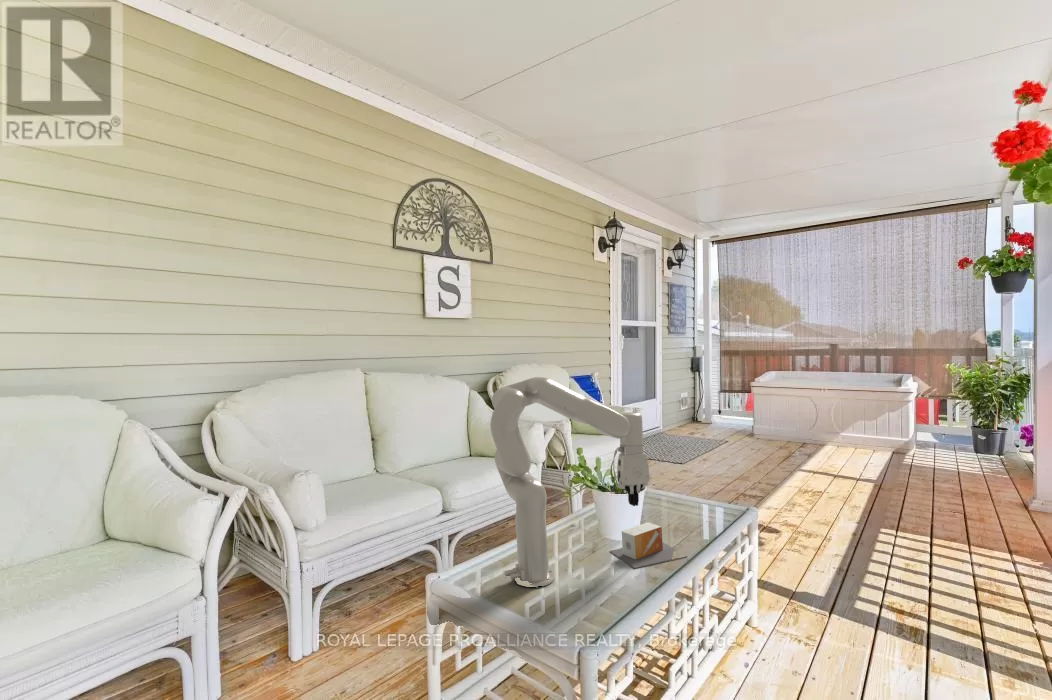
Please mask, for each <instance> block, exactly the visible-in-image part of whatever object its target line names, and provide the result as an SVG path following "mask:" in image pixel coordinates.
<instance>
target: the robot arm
mask: <svg viewBox="0 0 1052 700" xmlns="http://www.w3.org/2000/svg"><path fill="white" fill-rule="evenodd" d="M536 403H537V404H539V405H542V406H544V407H546V408H548V409H550V410H551V411H554V412H556V413H558V414H559V415H561V416H564V417H565V418H567V419H569V420H572V421H575V422H577V423H581V424H584V425H587V426H591V427H592V428H595V430H596V431H597V432H598V433H599V434H601V435H604V436H606V437H611V438H614V439H619V441H620V442H619V443H620V444H619V447H616V450H617V452H620V453H618V458H617V465H616V467H617V468H616V479H617V480H616V481H617V484H618V485H617V488H618V489H620V490H625V491H626V492H627V498H628V499H627V500H628V504H629V505H630V506H632V507H636V506H639V498H640V497H639V494H640V492H641V490H642V489H643V488H645V487H647V486H648V485H649V482H650V468H649V461H648V457H647V454H646V453H645V452H644V441H643V440H644V437H643V436H644V434H643V433H644V432H643V431H644V429H643V416H642V414H641V413H640V412H636V411H634V412H633V411H632V412H631V411H629V412H628V411H627V412H621V413H619V412H618V411H615V410H613V409H611V408H610V407H607V406H605V405H603V404H600V403H599V402H597V401H595V400H592V399H591V398H588V397H586V396H584V395H582V394H580V393H578V392H577V391H574V390H572V389H570V388H568V387H566V386H564V385H563V384H562V383H561V384H560V383H559V382H557V381H555V380H552V379H551V378H548V377H541V376H534V377H531V378H527V379H524V380H522V381H519V382H516V383H511V384H509V385H506V386H502V387H499V388H498V389H497V390H496V391H494V393H493V394H492V397H491V404H492V407H493V412H492V414H491V418H490V433H491V437H492V439H493V442H494V445H495V447H496V449H495V452H494V462H495V466H496V469H497V471H498V474H499V476H500V479H501V481H502V483H503V486H504V488H505V490H506V492H507V495H508V496H509V497H510V499H512V500H513V501H514V502H515V533H516V551H517V552H516V553H517V563H516V564H515V567H513V568H512V569H507V570H503V572H502V573H504V574H503V576H504V575H505V576H510V577H509V579H510V580H514V578H517V577H518V578H520V580H521V581H528V582H529V583H532V584H530V585H533V586H542V587H545V586H548V585H550V584H551V583H552V582H554V580H555V573H554V571H553V570H552V569H550V565H549V551H548V549H549V548H548V535H547V534H548V533H547V531H548V530H547V521H546V519H547V517H546V516H547V515H546V514H547V513H546V510H547V498H548V497H547V491H546V488H545V486H544V484H543V483H542V482H541V481H540V480H539V479H538V478H536V477H534V476H533V475H531V472H530V469H531V466H532V460H531V456H530V454H529V451H528V450H527V447H526V444H525V441H524V440H523V437H522V434H521V431H520V428H519V419H520V417H521V415H522V413H523V412H524V410H525V407H528V406H531V405H533V404H536Z"/></svg>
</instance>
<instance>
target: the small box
mask: <svg viewBox="0 0 1052 700" xmlns="http://www.w3.org/2000/svg"><path fill="white" fill-rule="evenodd" d="M662 528H663V527H662V526H661V525H657V524H654V523H651V522H649V521H648V522H645V523H642V524H639V525H636V526H633V527H630V528H627V529H624V530H621V544H622V548H623V554H624V555H626V556H629V557H631V558H633V559H639V558H642V557H644V556H647V555H650V554H652V553H655V552H658V551H660V550H663V544H662V542H663V533H662V531H663V530H662Z"/></svg>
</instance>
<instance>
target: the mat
mask: <svg viewBox="0 0 1052 700" xmlns="http://www.w3.org/2000/svg"><path fill="white" fill-rule="evenodd" d="M662 544H663V550H660V551H658V552H655V553H652V554H650V555H647V556H644V557H642V558H639V559H633V558H631V557H629V556H626V555H624V554H623V547H621V548H616V549H611V550H609V553H611V554H612V555H614V556H615V557H617V558H618V559H620V560H621V561H623V562H624V563H625V564H626V565H628V566H629V567H631V568H633V569H634V570H636V569H641V568H646V567H650V566H654V565H659V564H663V562H664V563H666V562H665V561H668V562H670V561H669V560H672V557H673V556H672V555H673V551H674V549H675V548H673V547H672V546H670V545H669V544H667V543H665V542H663V541H662ZM672 561H673V560H672Z"/></svg>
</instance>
